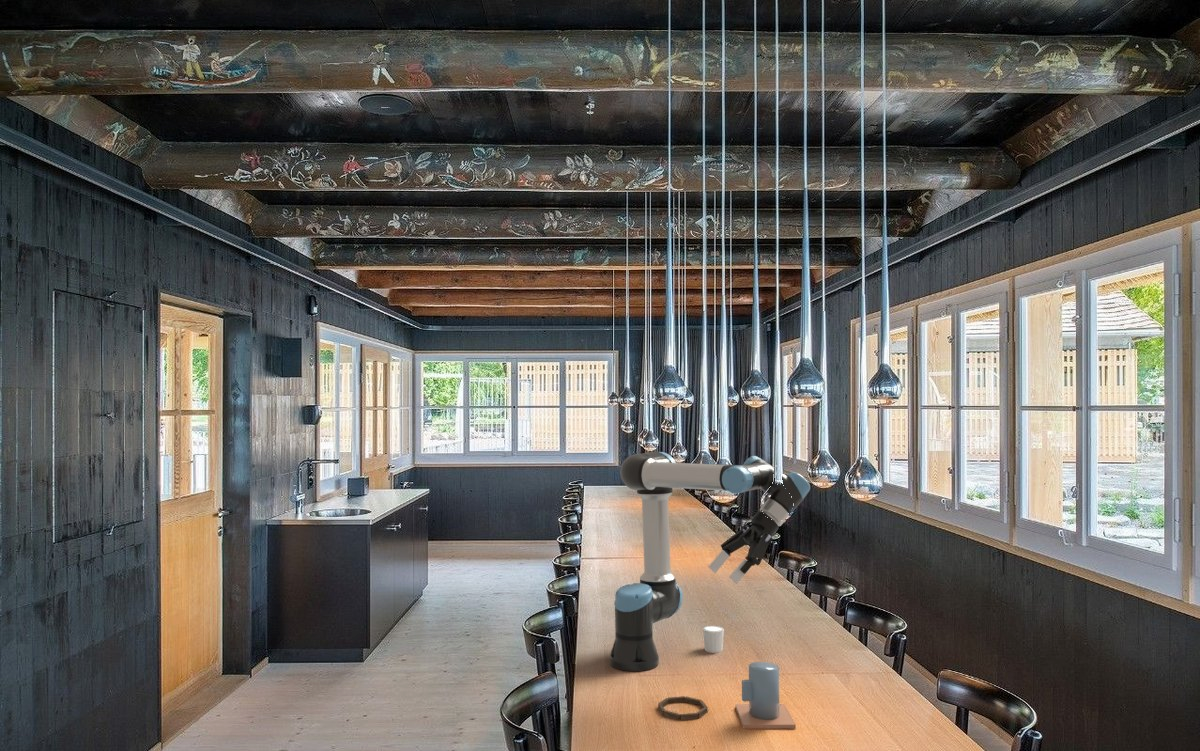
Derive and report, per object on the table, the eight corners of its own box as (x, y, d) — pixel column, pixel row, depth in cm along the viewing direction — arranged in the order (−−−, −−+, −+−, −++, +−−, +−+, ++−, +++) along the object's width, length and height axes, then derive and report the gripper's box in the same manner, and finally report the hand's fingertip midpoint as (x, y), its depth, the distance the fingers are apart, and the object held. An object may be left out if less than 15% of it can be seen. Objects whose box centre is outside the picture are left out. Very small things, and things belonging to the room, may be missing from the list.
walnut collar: (673, 697, 214) (673, 693, 214) (713, 707, 207) (713, 702, 207) (651, 712, 204) (651, 708, 204) (692, 723, 197) (692, 718, 197)
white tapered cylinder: (710, 645, 260) (709, 624, 260) (728, 649, 255) (727, 627, 255) (699, 650, 254) (698, 629, 254) (717, 654, 250) (717, 632, 250)
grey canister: (770, 706, 205) (769, 660, 206) (785, 717, 198) (784, 670, 198) (736, 711, 202) (735, 664, 203) (750, 722, 195) (749, 674, 195)
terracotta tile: (735, 707, 207) (735, 704, 207) (784, 707, 207) (784, 704, 207) (743, 728, 194) (743, 724, 194) (795, 728, 194) (795, 724, 194)
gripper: (800, 534, 212) (751, 594, 208) (756, 521, 236) (711, 574, 232) (783, 516, 211) (733, 575, 206) (740, 504, 235) (695, 557, 230)
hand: (721, 575), depth 219 cm, fingers open, 13 cm apart
